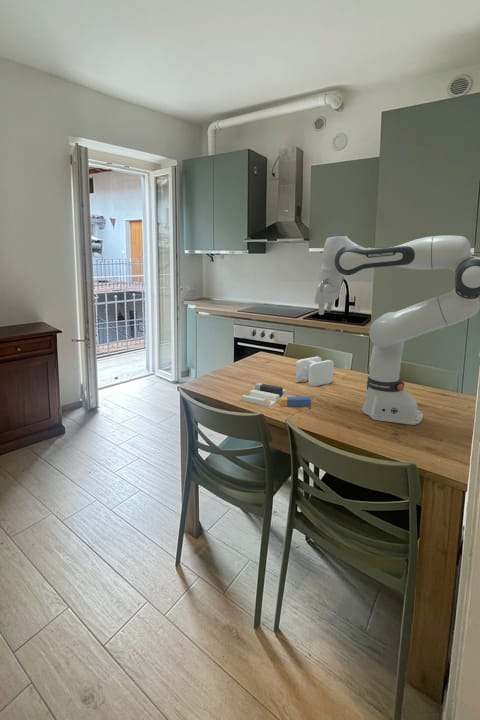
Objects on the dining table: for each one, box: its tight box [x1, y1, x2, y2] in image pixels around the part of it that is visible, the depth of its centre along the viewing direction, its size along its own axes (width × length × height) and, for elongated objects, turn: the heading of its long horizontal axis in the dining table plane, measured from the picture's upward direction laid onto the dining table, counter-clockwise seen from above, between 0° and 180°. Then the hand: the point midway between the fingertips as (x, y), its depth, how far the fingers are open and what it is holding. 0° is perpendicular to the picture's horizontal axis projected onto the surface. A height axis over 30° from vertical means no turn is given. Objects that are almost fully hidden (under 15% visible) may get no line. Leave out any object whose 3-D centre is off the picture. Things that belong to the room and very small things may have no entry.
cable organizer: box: [295, 356, 335, 388], centre depth 194 cm, size 15×11×12 cm
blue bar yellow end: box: [280, 396, 312, 410], centre depth 165 cm, size 12×3×4 cm, turn 88°
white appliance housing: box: [241, 389, 287, 407], centre depth 173 cm, size 13×16×3 cm
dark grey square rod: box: [254, 382, 284, 398], centre depth 176 cm, size 12×3×4 cm, turn 59°
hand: (324, 312), depth 162 cm, fingers open, 8 cm apart
